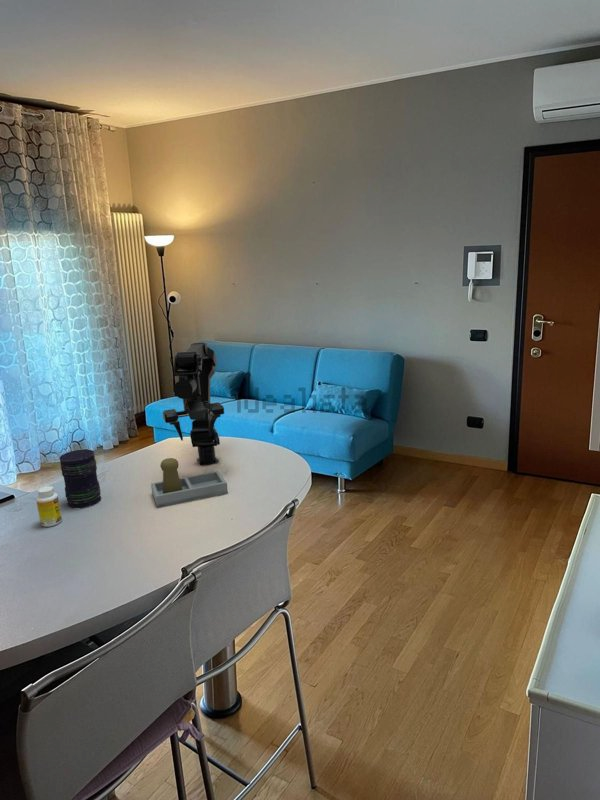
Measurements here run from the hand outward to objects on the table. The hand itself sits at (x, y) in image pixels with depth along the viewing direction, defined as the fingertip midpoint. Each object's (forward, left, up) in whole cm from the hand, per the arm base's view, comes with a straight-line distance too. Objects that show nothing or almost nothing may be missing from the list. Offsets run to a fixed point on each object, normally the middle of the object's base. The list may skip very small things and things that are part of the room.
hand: (196, 438), depth 187 cm
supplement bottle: (+14, -45, -13) cm, 49 cm away
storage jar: (+3, -36, -13) cm, 38 cm away
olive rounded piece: (+13, -11, -12) cm, 21 cm away
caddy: (+13, -6, -13) cm, 19 cm away
